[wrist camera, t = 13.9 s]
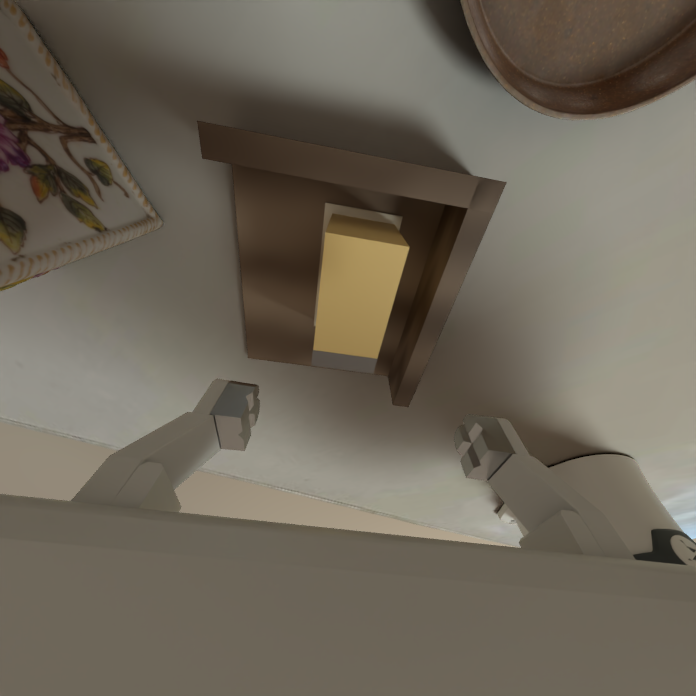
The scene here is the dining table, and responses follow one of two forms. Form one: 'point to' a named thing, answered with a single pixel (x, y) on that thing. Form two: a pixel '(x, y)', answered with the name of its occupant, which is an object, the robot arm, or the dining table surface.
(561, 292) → the dining table surface
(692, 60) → the plant saucer
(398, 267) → the ochre block
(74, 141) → the decorative jar
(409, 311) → the corner arena
